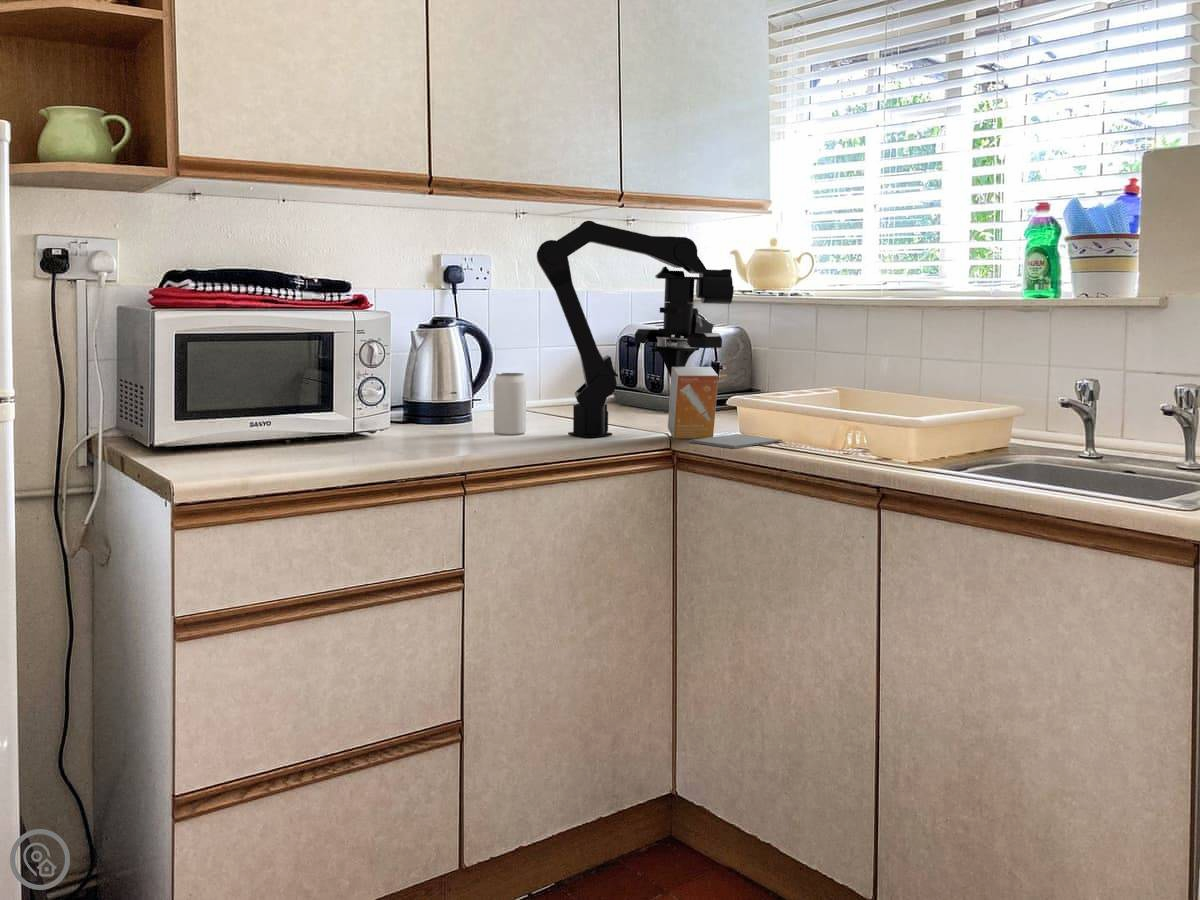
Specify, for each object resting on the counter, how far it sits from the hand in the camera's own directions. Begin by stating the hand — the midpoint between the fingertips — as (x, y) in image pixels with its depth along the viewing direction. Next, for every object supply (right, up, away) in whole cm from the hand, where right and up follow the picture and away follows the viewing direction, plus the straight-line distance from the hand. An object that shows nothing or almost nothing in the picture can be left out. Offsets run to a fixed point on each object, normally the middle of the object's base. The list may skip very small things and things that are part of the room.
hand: (675, 382), depth 212 cm
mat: (+11, -12, -8) cm, 18 cm away
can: (-33, -10, +3) cm, 35 cm away
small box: (+3, -10, -1) cm, 11 cm away
